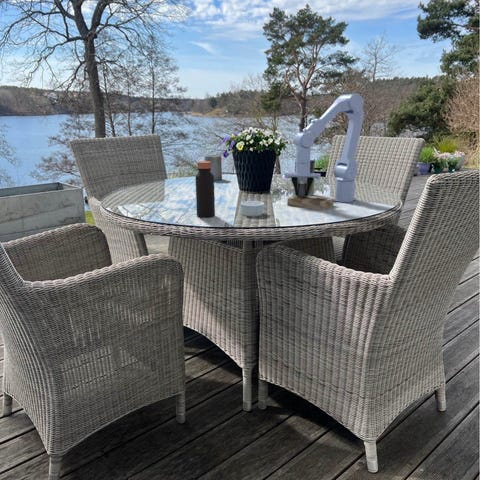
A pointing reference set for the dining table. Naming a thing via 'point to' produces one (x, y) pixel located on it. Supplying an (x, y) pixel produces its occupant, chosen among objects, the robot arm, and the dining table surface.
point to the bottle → (205, 190)
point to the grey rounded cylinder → (301, 190)
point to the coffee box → (312, 167)
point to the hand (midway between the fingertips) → (301, 195)
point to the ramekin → (252, 208)
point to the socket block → (311, 202)
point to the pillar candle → (215, 166)
